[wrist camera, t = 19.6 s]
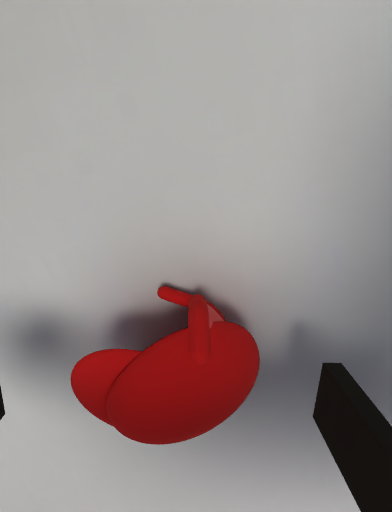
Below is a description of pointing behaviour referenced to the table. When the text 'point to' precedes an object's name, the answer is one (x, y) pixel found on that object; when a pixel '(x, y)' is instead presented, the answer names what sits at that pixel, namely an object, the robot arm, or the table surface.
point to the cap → (172, 377)
